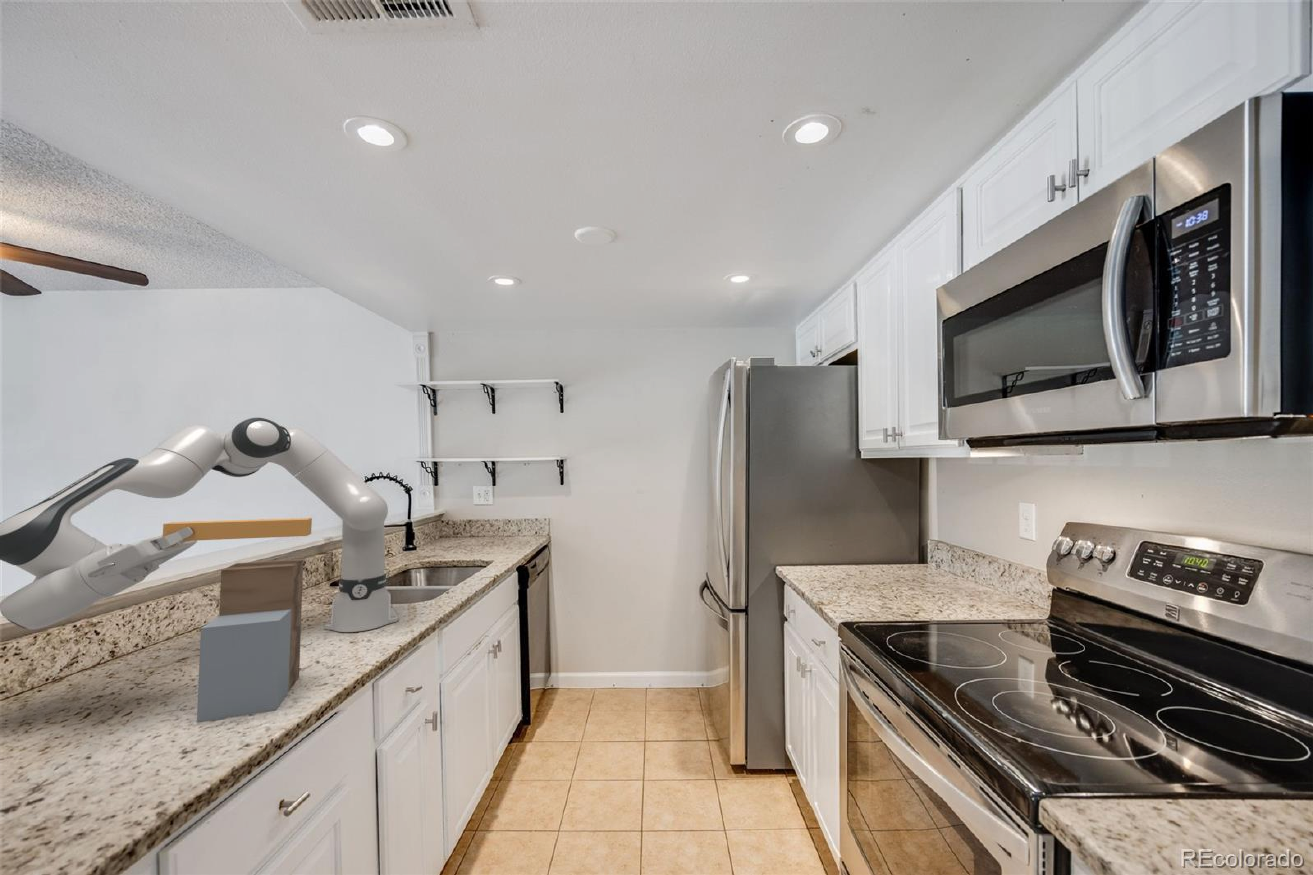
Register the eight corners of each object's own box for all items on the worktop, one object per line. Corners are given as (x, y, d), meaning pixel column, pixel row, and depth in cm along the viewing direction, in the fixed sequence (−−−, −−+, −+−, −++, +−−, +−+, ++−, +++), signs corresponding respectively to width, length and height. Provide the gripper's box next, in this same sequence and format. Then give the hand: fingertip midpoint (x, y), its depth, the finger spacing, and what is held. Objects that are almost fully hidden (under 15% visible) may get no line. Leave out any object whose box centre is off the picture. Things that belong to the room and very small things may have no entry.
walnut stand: (231, 686, 107) (236, 563, 108) (299, 677, 111) (303, 558, 113) (215, 703, 99) (221, 570, 101) (288, 692, 104) (292, 565, 105)
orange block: (171, 539, 102) (172, 522, 102) (311, 533, 111) (311, 517, 111) (162, 541, 99) (163, 524, 99) (306, 536, 108) (307, 519, 108)
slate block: (215, 703, 99) (219, 616, 100) (288, 692, 104) (291, 609, 105) (196, 722, 92) (200, 628, 93) (276, 710, 97) (279, 620, 97)
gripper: (70, 563, 87) (161, 520, 92) (137, 545, 106) (210, 510, 111) (92, 593, 88) (181, 549, 93) (155, 570, 107) (227, 535, 112)
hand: (197, 528), depth 102 cm, fingers closed on orange block, 3 cm apart
